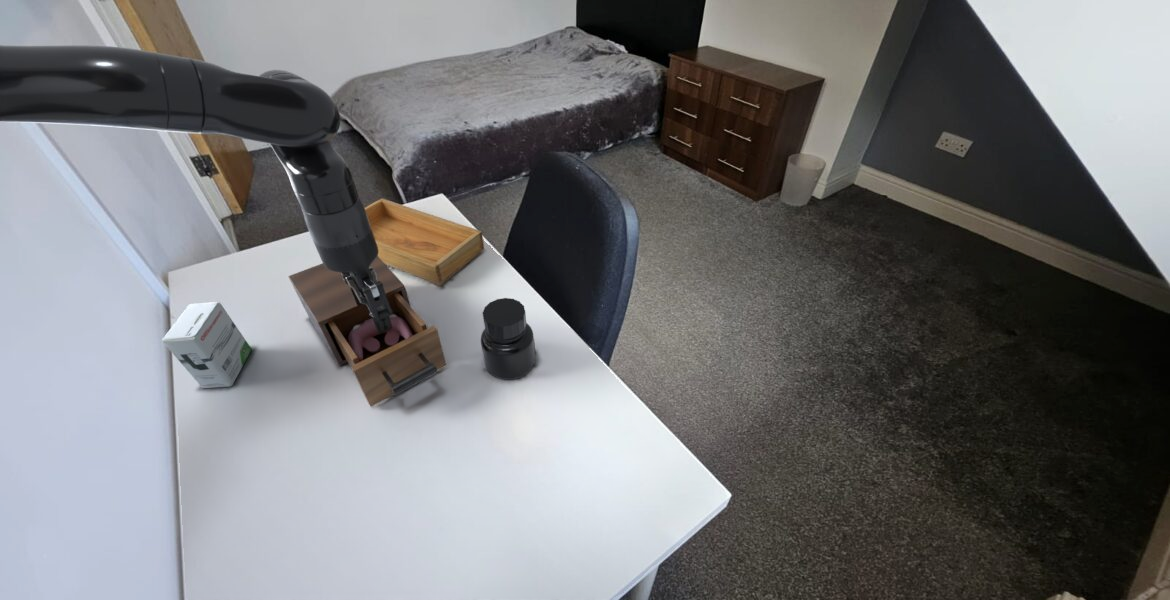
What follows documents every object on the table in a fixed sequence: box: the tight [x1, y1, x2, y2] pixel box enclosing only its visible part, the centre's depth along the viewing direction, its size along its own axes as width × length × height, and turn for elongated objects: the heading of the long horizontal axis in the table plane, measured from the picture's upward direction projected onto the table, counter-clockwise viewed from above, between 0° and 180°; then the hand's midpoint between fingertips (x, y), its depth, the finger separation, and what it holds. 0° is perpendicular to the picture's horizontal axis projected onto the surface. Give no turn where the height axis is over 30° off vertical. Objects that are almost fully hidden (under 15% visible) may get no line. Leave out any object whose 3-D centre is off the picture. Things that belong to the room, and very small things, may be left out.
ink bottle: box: [480, 297, 536, 380], centre depth 79 cm, size 10×9×12 cm
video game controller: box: [349, 314, 413, 361], centre depth 81 cm, size 10×5×7 cm
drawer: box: [327, 292, 447, 408], centre depth 78 cm, size 19×13×9 cm
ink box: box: [161, 301, 252, 389], centre depth 77 cm, size 9×5×12 cm, turn 6°
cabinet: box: [288, 256, 412, 367], centre depth 86 cm, size 16×15×11 cm
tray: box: [364, 198, 485, 286], centre depth 106 cm, size 31×15×6 cm, turn 62°
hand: (374, 315), depth 75 cm, fingers open, 8 cm apart
